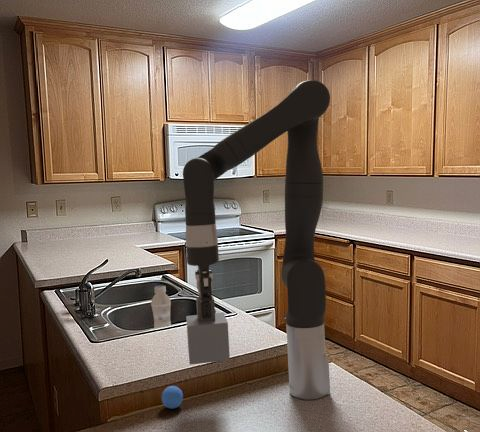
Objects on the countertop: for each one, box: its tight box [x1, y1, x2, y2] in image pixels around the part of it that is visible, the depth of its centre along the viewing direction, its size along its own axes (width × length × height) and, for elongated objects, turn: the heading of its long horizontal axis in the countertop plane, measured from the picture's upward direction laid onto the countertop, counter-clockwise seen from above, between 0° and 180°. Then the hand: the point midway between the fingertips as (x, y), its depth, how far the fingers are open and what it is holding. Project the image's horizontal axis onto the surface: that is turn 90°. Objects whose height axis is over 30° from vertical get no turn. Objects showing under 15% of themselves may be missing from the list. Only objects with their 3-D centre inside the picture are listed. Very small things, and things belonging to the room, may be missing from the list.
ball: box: [161, 385, 184, 410], centre depth 109 cm, size 5×5×5 cm
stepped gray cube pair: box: [185, 295, 231, 365], centre depth 110 cm, size 9×9×14 cm
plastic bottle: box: [150, 285, 172, 329], centre depth 156 cm, size 6×7×20 cm
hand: (206, 315), depth 110 cm, fingers closed on stepped gray cube pair, 4 cm apart
